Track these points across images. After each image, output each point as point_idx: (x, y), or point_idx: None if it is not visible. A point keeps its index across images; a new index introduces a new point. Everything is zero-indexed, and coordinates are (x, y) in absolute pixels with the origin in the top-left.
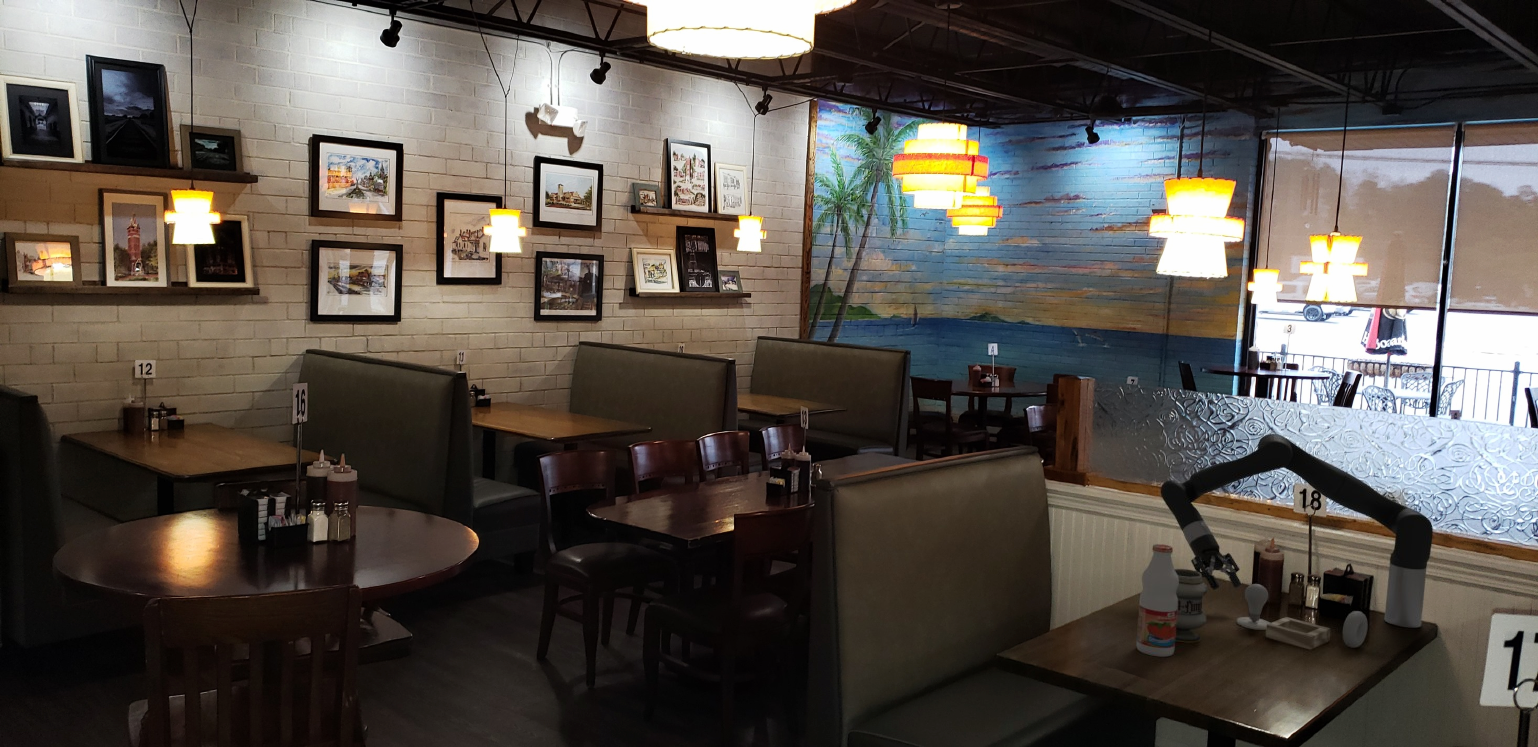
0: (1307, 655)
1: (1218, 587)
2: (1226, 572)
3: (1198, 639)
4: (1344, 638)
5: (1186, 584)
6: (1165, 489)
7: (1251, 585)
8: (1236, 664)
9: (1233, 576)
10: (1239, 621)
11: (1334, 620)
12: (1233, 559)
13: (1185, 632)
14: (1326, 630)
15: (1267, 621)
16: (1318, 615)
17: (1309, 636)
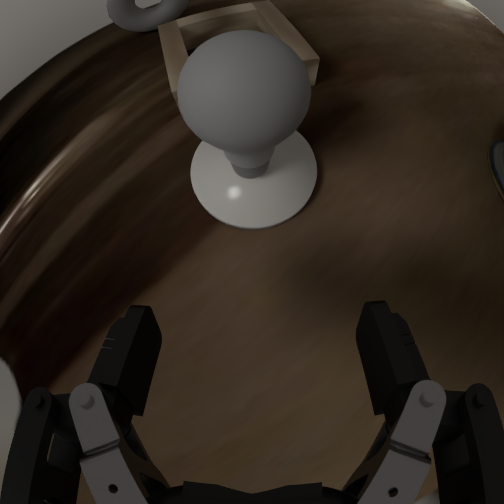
0: (307, 13)
1: (363, 307)
2: (138, 448)
3: (495, 140)
4: (188, 1)
5: None
6: None
7: (276, 59)
8: (463, 54)
9: (130, 374)
10: (309, 187)
11: (13, 169)
12: (5, 475)
13: None
14: (181, 18)
15: (192, 161)
16: (5, 209)
17: (270, 2)
